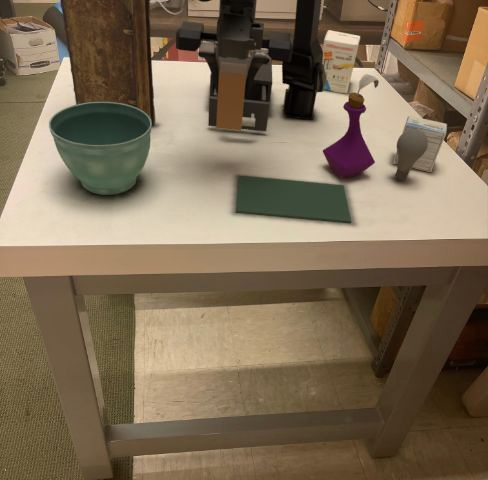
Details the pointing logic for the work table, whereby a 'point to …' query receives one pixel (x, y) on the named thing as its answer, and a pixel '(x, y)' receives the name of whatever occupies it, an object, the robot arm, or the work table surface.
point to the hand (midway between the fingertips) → (231, 95)
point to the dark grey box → (261, 77)
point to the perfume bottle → (352, 138)
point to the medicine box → (434, 136)
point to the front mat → (292, 199)
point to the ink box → (339, 59)
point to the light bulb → (409, 151)
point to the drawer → (247, 109)
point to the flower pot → (103, 144)
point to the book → (110, 51)
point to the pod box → (231, 95)
